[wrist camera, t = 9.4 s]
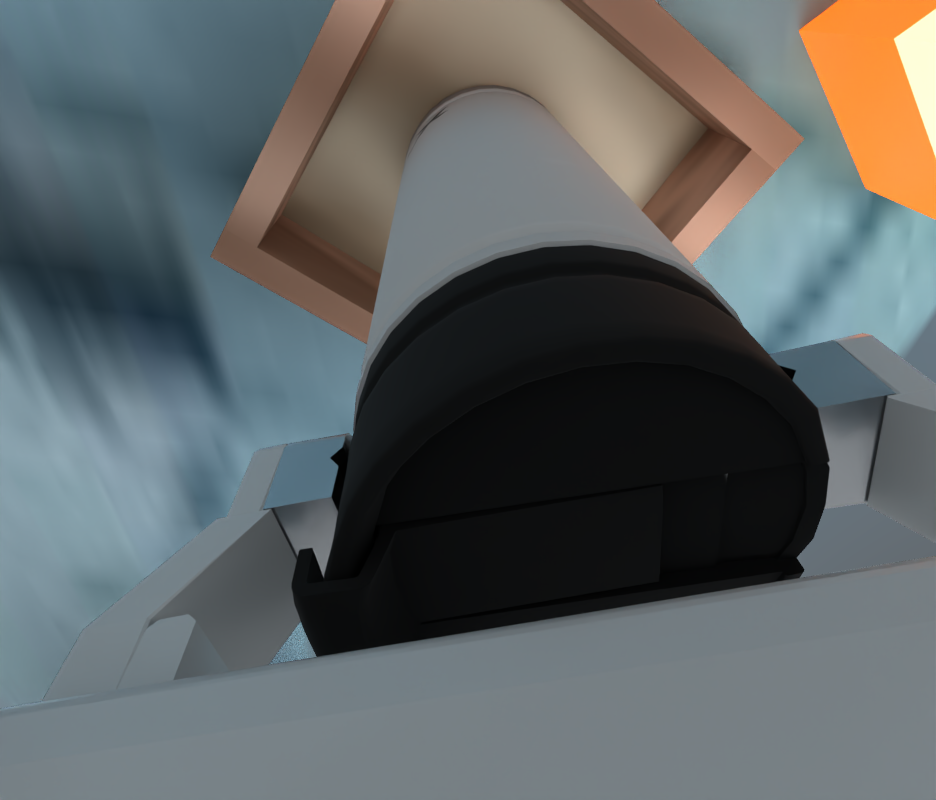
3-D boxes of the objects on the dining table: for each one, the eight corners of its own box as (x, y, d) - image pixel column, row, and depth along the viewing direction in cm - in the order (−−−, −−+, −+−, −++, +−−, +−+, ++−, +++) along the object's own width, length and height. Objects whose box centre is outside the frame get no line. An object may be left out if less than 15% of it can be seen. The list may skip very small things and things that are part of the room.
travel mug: (379, 99, 22) (196, 424, 5) (566, 71, 22) (977, 320, 5) (411, 266, 26) (358, 785, 9) (573, 244, 25) (835, 733, 9)
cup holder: (522, 380, 32) (536, 446, 27) (240, 213, 27) (198, 259, 22) (748, 111, 25) (817, 136, 21) (432, -175, 20) (430, -226, 16)
